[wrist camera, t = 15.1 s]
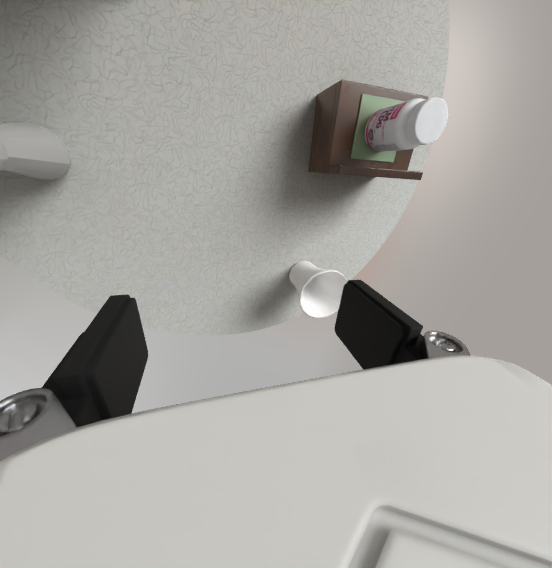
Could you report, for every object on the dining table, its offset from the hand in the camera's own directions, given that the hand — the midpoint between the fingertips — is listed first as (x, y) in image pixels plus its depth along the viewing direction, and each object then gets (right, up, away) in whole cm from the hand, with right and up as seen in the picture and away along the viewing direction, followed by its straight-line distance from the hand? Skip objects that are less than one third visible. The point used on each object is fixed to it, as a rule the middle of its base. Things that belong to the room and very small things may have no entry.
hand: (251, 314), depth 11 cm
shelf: (+13, +25, +27) cm, 38 cm away
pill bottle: (+15, +22, +20) cm, 33 cm away
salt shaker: (-27, +18, +18) cm, 37 cm away
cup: (+7, +4, +36) cm, 36 cm away
